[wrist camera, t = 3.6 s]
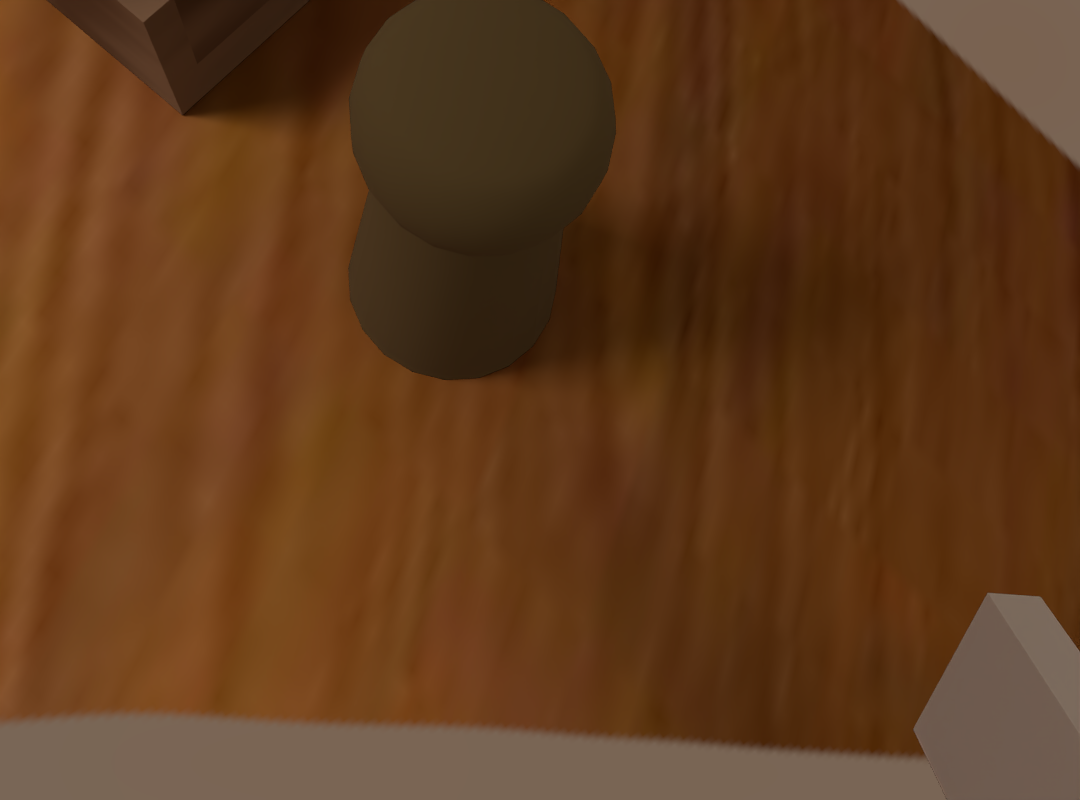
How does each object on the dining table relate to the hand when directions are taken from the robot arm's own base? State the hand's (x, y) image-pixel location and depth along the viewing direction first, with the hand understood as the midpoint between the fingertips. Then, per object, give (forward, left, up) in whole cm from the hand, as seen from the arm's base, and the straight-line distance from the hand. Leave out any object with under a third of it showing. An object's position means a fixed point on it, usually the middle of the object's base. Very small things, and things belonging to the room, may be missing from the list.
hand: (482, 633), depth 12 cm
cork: (-6, +8, -14) cm, 17 cm away
